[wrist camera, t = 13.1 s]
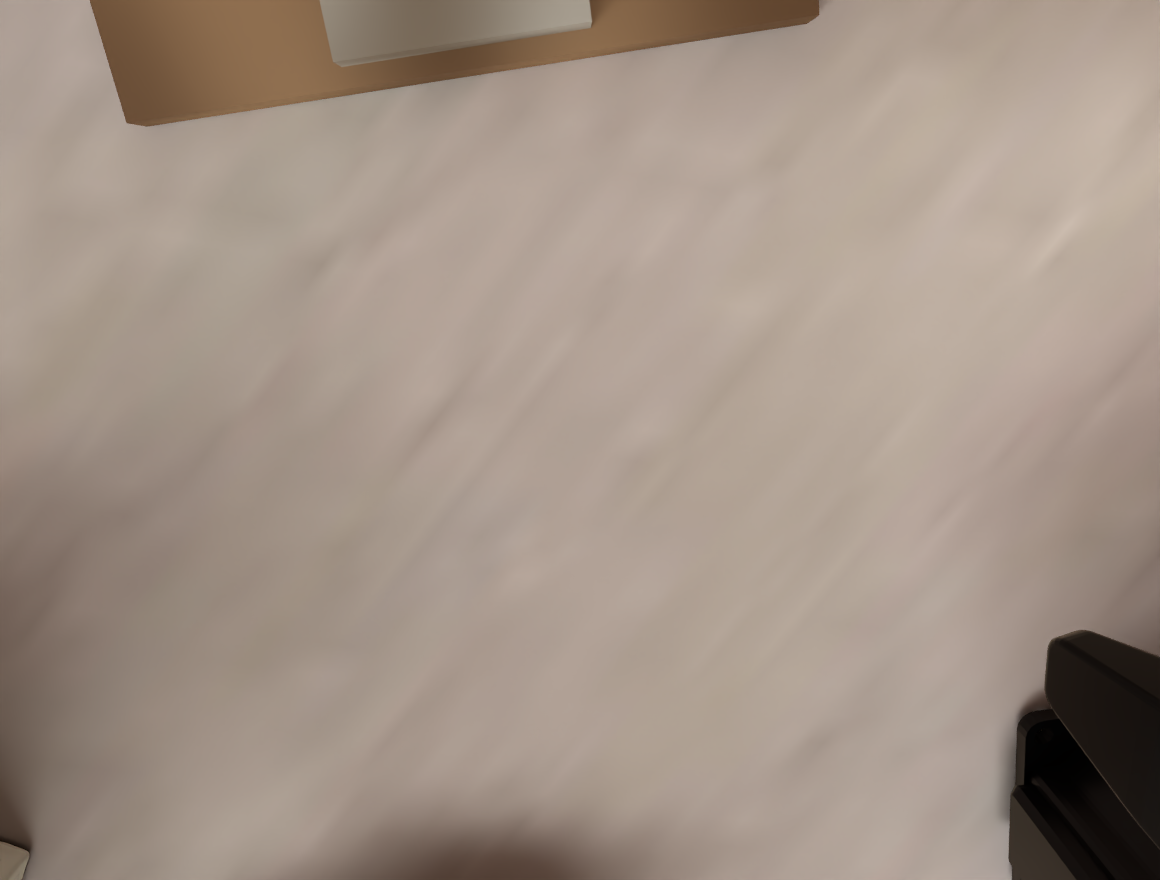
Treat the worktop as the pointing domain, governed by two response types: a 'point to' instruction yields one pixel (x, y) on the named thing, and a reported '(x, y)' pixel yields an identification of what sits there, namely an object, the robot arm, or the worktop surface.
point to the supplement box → (12, 861)
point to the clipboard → (379, 44)
